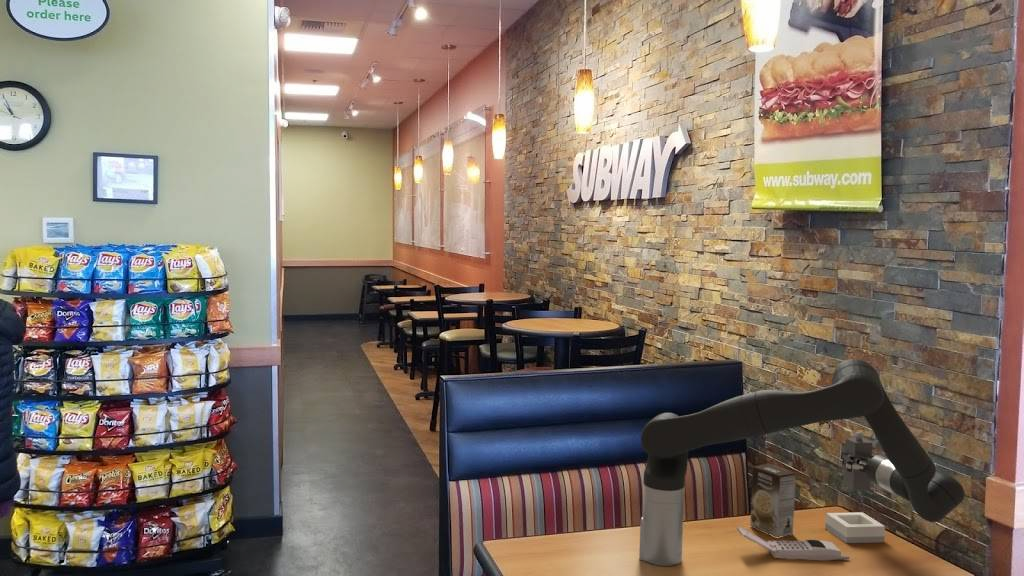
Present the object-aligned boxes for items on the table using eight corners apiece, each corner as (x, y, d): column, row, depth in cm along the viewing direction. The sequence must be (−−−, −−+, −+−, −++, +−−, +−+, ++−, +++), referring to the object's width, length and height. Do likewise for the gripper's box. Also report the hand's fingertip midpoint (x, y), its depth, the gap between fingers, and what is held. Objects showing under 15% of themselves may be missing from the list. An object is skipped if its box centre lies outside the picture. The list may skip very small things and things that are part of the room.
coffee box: (748, 527, 204) (751, 465, 203) (766, 523, 207) (769, 462, 206) (776, 539, 195) (779, 475, 195) (794, 535, 199) (797, 472, 198)
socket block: (845, 543, 194) (846, 527, 194) (825, 528, 204) (825, 513, 204) (884, 542, 195) (885, 526, 195) (861, 527, 205) (862, 512, 205)
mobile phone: (735, 525, 189) (841, 528, 188) (734, 549, 189) (840, 552, 189) (742, 535, 183) (851, 537, 182) (741, 560, 183) (850, 562, 183)
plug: (853, 490, 196) (855, 434, 196) (843, 485, 201) (846, 430, 200) (870, 490, 197) (872, 434, 196) (860, 484, 201) (862, 430, 201)
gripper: (921, 458, 185) (879, 440, 202) (863, 459, 183) (826, 440, 200) (919, 490, 185) (877, 469, 202) (862, 491, 184) (824, 470, 201)
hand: (852, 455), depth 201 cm, fingers closed on plug, 4 cm apart
